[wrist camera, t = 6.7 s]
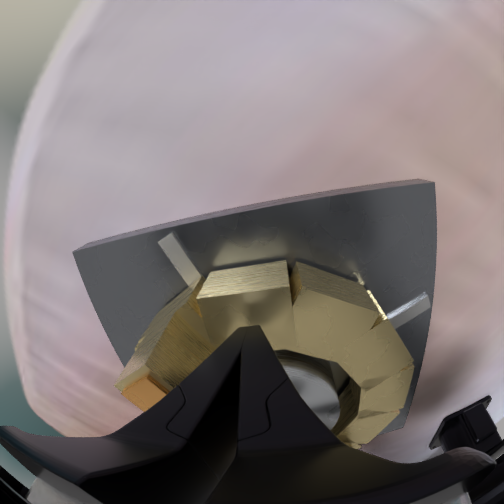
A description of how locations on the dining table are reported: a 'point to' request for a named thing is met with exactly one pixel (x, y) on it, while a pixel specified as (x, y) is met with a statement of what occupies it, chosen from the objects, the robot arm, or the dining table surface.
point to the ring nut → (280, 338)
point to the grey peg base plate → (290, 249)
